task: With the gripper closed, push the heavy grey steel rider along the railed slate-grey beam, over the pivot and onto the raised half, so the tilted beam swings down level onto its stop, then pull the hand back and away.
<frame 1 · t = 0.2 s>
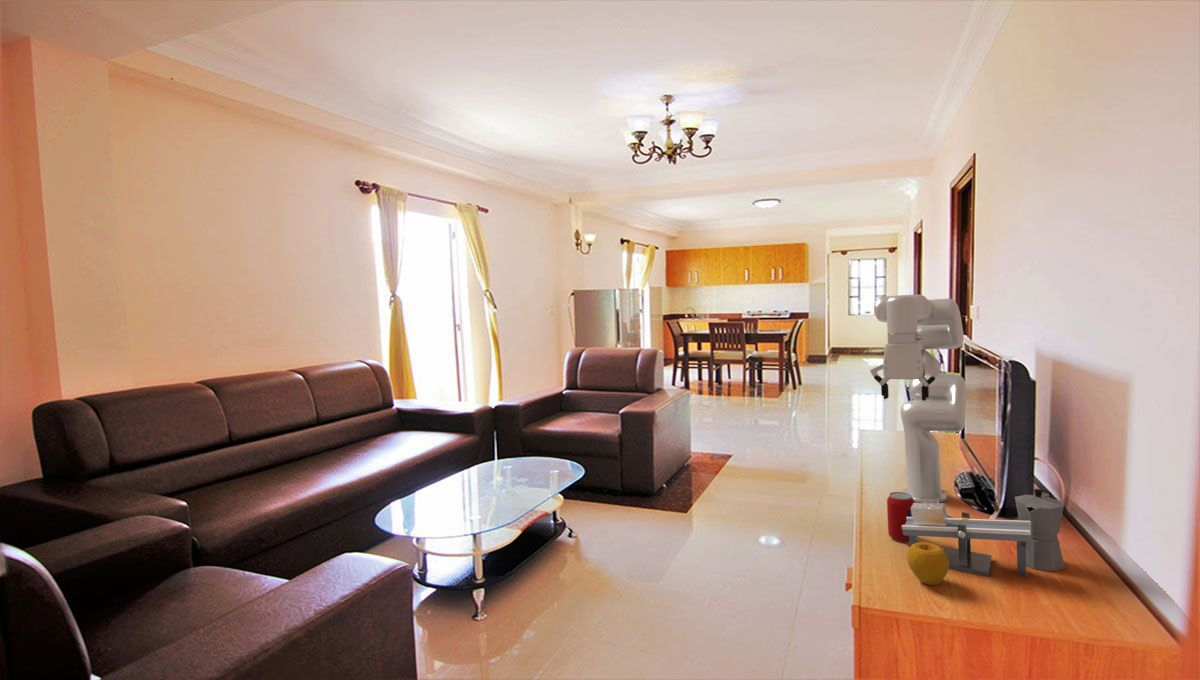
hand: (904, 399, 156), 36 cm above the table, tool pointing down, fingers open, 9 cm apart
stand: (965, 562, 134), on the table
beverage can: (902, 538, 149), on the table
elephant figurine: (940, 524, 157), on the table
rider: (931, 525, 138), point 8 cm above the table, tilted 8°, touching beam
apple: (928, 582, 127), on the table
beam: (964, 527, 133), point 9 cm above the table, hinge at 8.5°, touching rider
coffeepot: (1041, 561, 132), on the table
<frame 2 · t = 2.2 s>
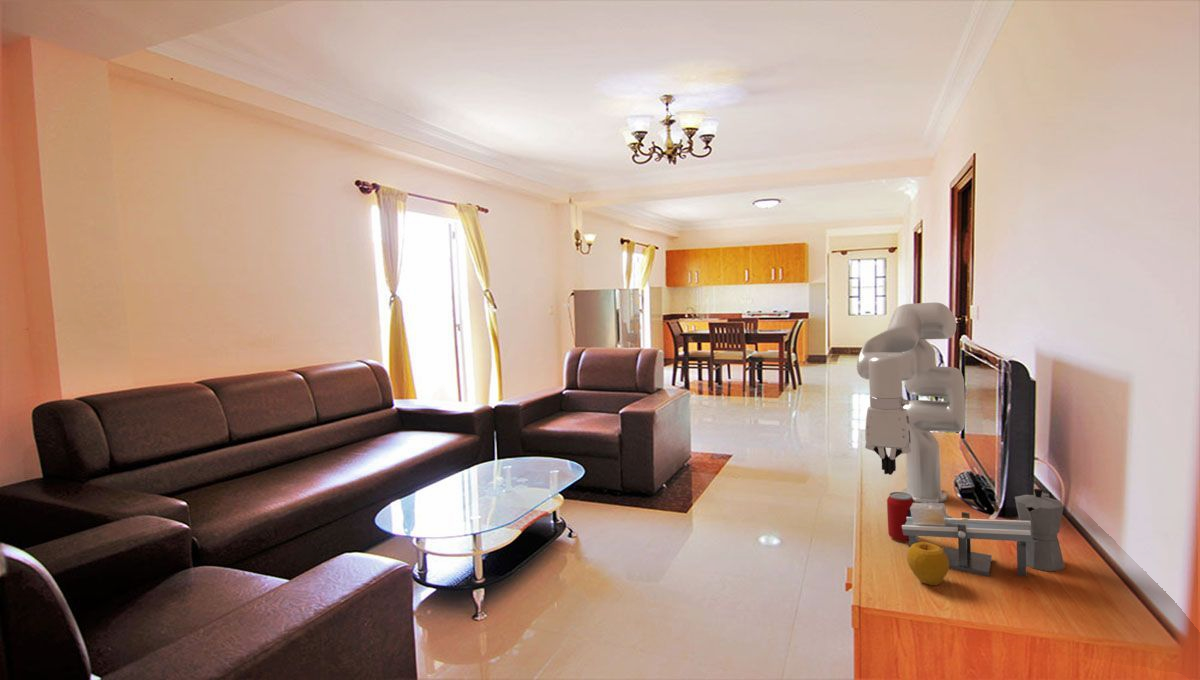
hand: (889, 473, 142), 20 cm above the table, tool pointing down, fingers closed
nothing on the table moved.
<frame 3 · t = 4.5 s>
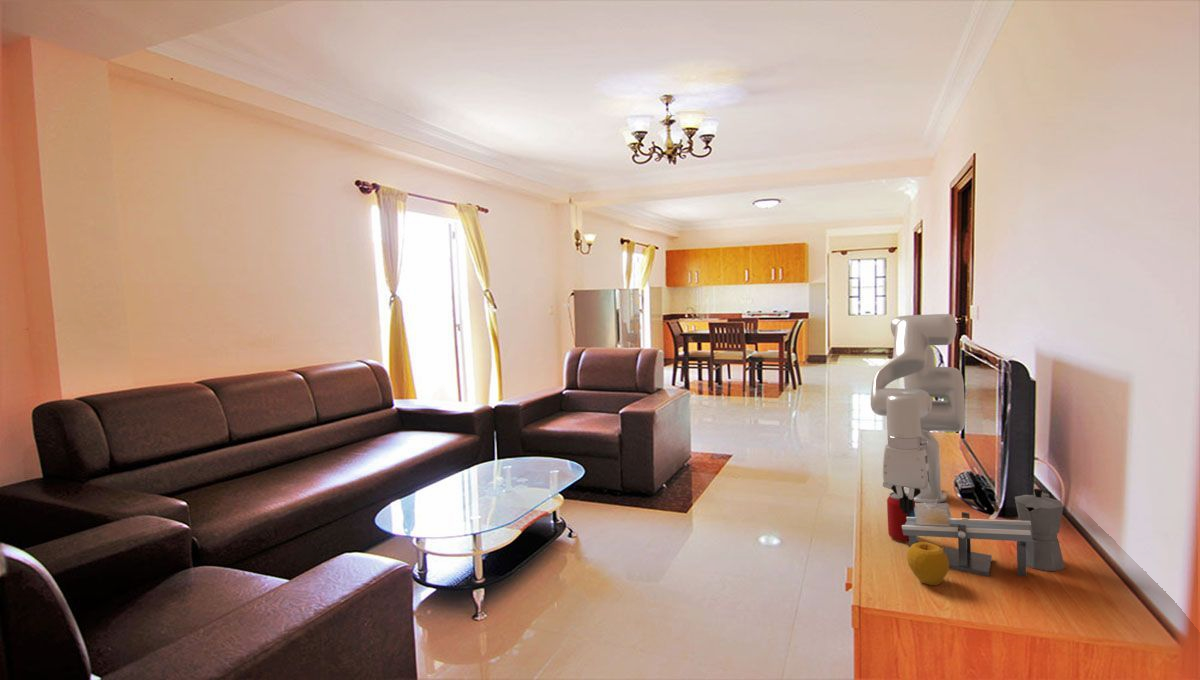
hand: (907, 512, 141), 10 cm above the table, tool pointing down, fingers closed
rider: (935, 525, 137), point 8 cm above the table, tilted 8°, touching beam, gripper
everything else where it was.
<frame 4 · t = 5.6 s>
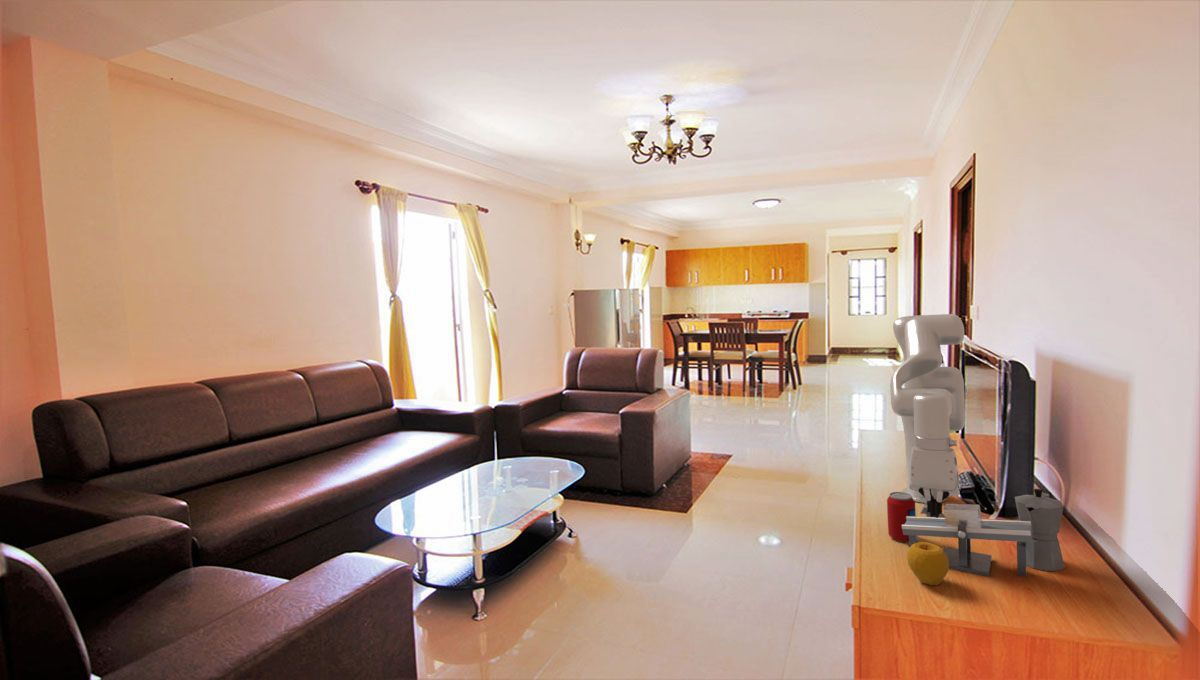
hand: (935, 515, 136), 11 cm above the table, tool pointing down, fingers closed
rider: (965, 527, 133), point 9 cm above the table, tilted 8°, touching gripper
beam: (964, 527, 133), point 9 cm above the table, hinge at 8.0°
everything else where it was.
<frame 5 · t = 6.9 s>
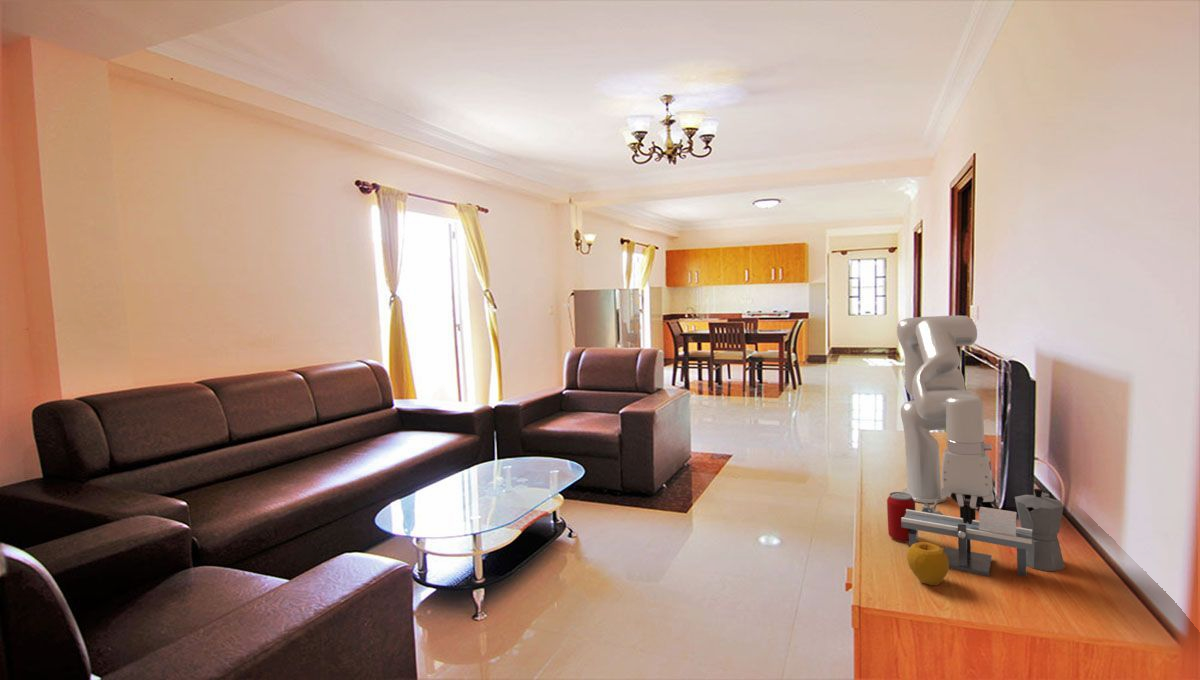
hand: (968, 521, 132), 11 cm above the table, tool pointing down, fingers closed
rider: (997, 533, 129), point 9 cm above the table, touching gripper
beam: (964, 527, 133), point 9 cm above the table, hinge at -0.5°
everything else where it was.
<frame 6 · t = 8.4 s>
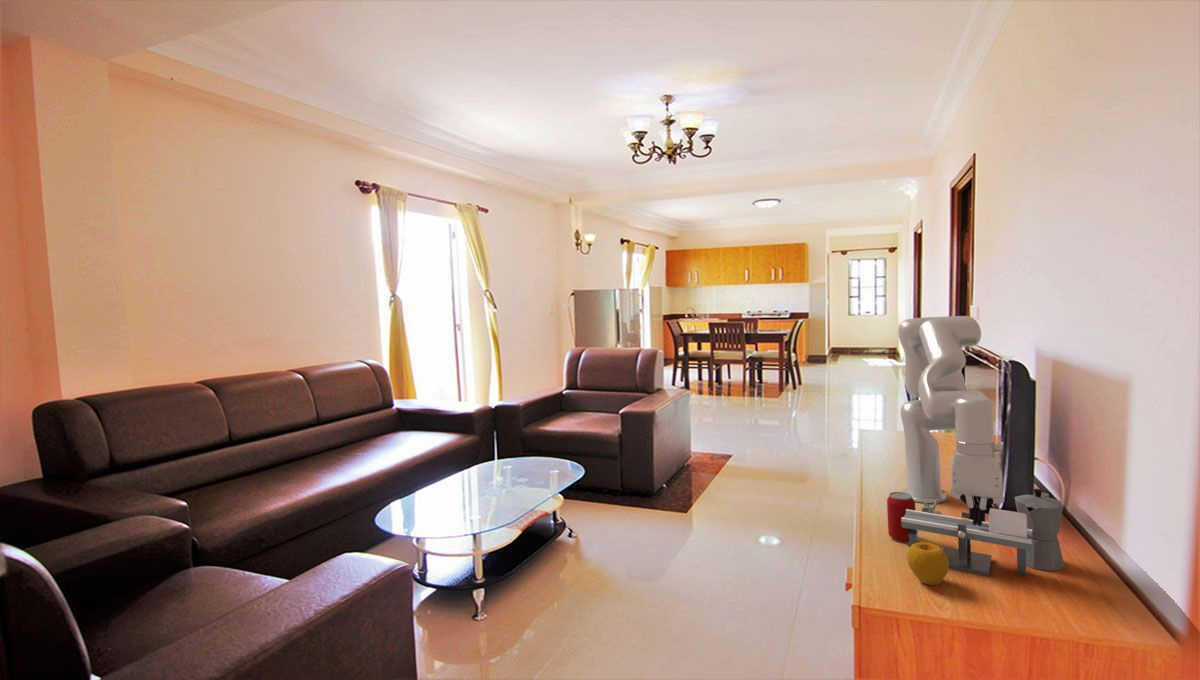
hand: (977, 523, 131), 10 cm above the table, tool pointing down, fingers closed
rider: (1008, 534, 127), point 9 cm above the table, touching beam, gripper
beam: (964, 527, 133), point 9 cm above the table, hinge at -0.6°, touching rider
everything else where it was.
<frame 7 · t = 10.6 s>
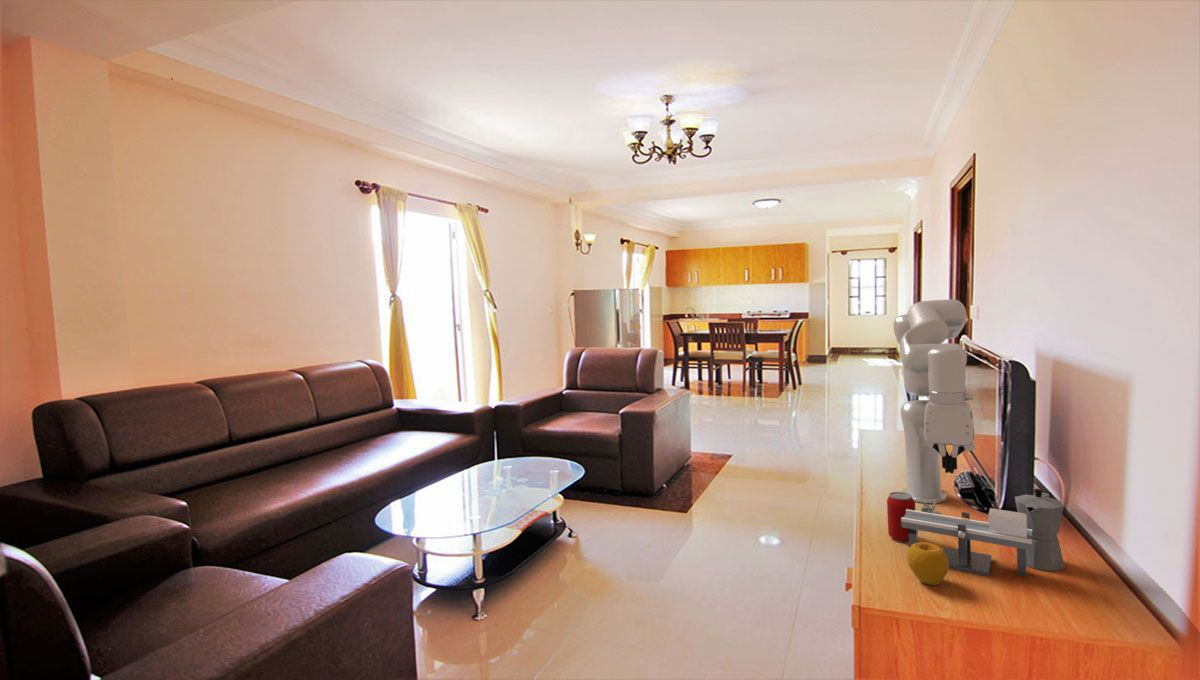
hand: (949, 471, 134), 22 cm above the table, tool pointing down, fingers closed
rider: (1008, 534, 127), point 9 cm above the table, touching beam
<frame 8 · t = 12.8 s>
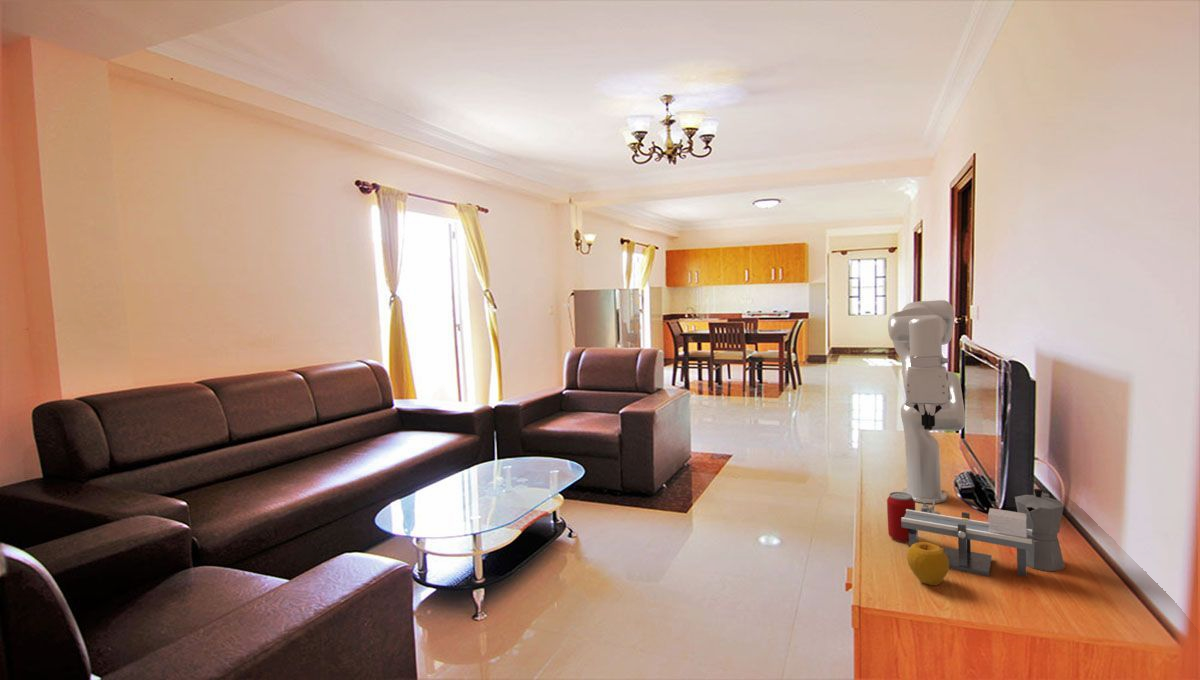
hand: (928, 428, 150), 29 cm above the table, tool pointing down, fingers closed
at the end: beam at -1° (first picture: +9°); rider inside the target area on the beam (1.6 cm from its centre), point 0.0 cm above the beam's base; rider tilted 1° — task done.
